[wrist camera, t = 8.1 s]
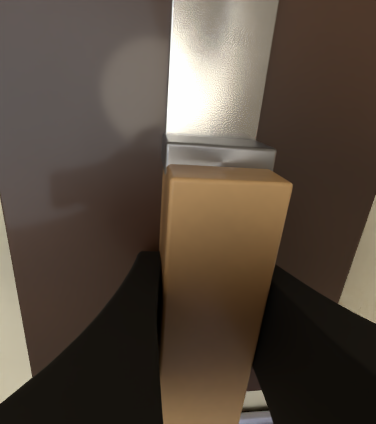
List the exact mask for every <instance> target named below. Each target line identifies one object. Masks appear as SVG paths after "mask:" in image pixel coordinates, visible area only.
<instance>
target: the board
mask: <svg viewBox="0 0 376 424" xmlns="http://www.w3.org/2000/svg"><path fill="white" fill-rule="evenodd" d="M170 7H171V0H0V198H1V204H2V209H3V215H4V221H5V226H6V232H7V237H8V243H9V249H10V254H11V260H12V265H13V271H14V277H15V282H16V288H17V293H18V299H19V305H20V310H21V316H22V321H23V327H24V333H25V338H26V344H27V349H28V355H29V361H30V366H31V372H32V377H34V376H35V375H36V374H37V373H39V372H40V371H41V370H42V369H43V368H45V367H46V366H47V365H48V364H49V363H50V362H51V361H52V360H54V359H55V358H56V357H57V356H58V355H59V354H60V353H61V352H62V351H63V350H64V349H65V348H66V347H67V346H68V345H69V344H70V343H71V342H73V341H74V340H75V339H76V338H77V337H78V336H79V335H80V334H81V333H82V332H83V330H84V329H85V328H86V327H87V326H88V325H89V324H90V323H91V322H92V321H93V320H94V318H95V317H96V316H97V315H98V314H99V313H100V312H101V310H102V309H103V308H104V307H105V305H106V304H107V303H108V301H109V300H110V299H111V298H112V296H113V295H114V294H115V292H116V291H117V290H118V288H119V287H120V285H121V284H122V282H123V281H124V279H125V277H126V276H127V274H128V273H129V271H130V269H131V268H132V266H133V264H134V262H135V260H136V257H137V254H138V253H140V252H141V251H159V240H160V219H161V198H162V177H163V163H162V139H163V134H164V133H165V112H166V91H167V70H168V49H169V28H170ZM256 141H258V142H261V143H263V144H265V145H268V146H270V147H272V148H275V149H276V151H277V153H276V158H275V163H274V168H273V172H275V173H276V174H278V175H279V176H281V177H283V178H284V179H286V180H287V181H289V182H291V183H292V185H293V188H292V193H291V197H290V201H289V206H288V210H287V215H286V219H285V223H284V228H283V232H282V237H281V241H280V245H279V250H278V254H277V258H276V263H275V264H276V265H278V266H279V267H281V268H282V269H283V270H285V271H286V272H288V273H289V274H291V275H292V276H294V277H295V278H297V279H298V280H300V281H302V282H303V283H305V284H306V285H308V286H309V287H311V288H312V289H314V290H316V291H317V292H319V293H320V294H322V295H324V296H325V297H327V298H329V299H331V300H332V301H334V302H336V303H337V304H338V302H339V299H340V296H341V293H342V291H343V288H344V285H345V282H346V279H347V276H348V273H349V270H350V267H351V265H352V262H353V259H354V256H355V253H356V250H357V247H358V244H359V241H360V238H361V236H362V233H363V230H364V227H365V224H366V221H367V218H368V215H369V212H370V210H371V207H372V204H373V201H374V198H375V195H376V0H279V4H278V10H277V16H276V22H275V28H274V34H273V40H272V46H271V52H270V58H269V64H268V70H267V76H266V82H265V88H264V94H263V100H262V106H261V112H260V118H259V124H258V130H257V136H256ZM258 390H262V389H261V387H260V384H259V382H258V379H257V377H256V374H255V372H254V369H253V367H252V368H251V372H250V377H249V381H248V386H247V390H246V391H258Z"/></svg>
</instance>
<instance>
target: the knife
mask: <svg viewBox="0 0 376 424" xmlns="http://www.w3.org/2000/svg"><path fill="white" fill-rule="evenodd" d="M278 4H279V0H171V7H170V28H169V49H168V70H167V91H166V112H165V133H164V134H163V139H162V163H163V177H162V198H161V219H160V240H159V251H160V257H161V275H160V295H159V314H158V334H157V337H158V355H159V371H160V385H161V400H162V413H163V424H239V421H240V416H241V412H242V408H243V403H244V399H245V394H246V390H247V386H248V381H249V377H250V372H251V368H252V364H253V359H254V355H255V351H256V346H257V342H258V337H259V333H260V329H261V324H262V320H263V315H264V311H265V307H266V302H267V298H268V294H269V289H270V285H271V280H272V276H273V272H274V267H275V263H276V258H277V254H278V250H279V245H280V241H281V237H282V232H283V228H284V223H285V219H286V215H287V210H288V206H289V201H290V197H291V193H292V188H293V185H292V183H291V182H289V181H287V180H286V179H284V178H283V177H281V176H279V175H278V174H276V173H275V172H273V168H274V163H275V158H276V153H277V151H276V149H275V148H272V147H270V146H268V145H265V144H263V143H261V142H258V141H256V136H257V130H258V124H259V118H260V112H261V106H262V100H263V94H264V88H265V82H266V76H267V70H268V64H269V58H270V52H271V46H272V40H273V34H274V28H275V22H276V16H277V10H278Z"/></svg>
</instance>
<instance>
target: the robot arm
mask: <svg viewBox="0 0 376 424" xmlns="http://www.w3.org/2000/svg"><path fill="white" fill-rule="evenodd" d="M160 275H161V257H160V251H141V252H140V253H138V254H137V257H136V260H135V262H134V264H133V266H132V268H131V269H130V271H129V273H128V274H127V276H126V277H125V279H124V281H123V282H122V284H121V285H120V287H119V288H118V290H117V291H116V292H115V294H114V295H113V296H112V298H111V299H110V300H109V301H108V303H107V304H106V305H105V307H104V308H103V309H102V310H101V312H100V313H99V314H98V315H97V316H96V317H95V318H94V320H93V321H92V322H91V323H90V324H89V325H88V326H87V327H86V328H85V329H84V330H83V332H82V333H81V334H80V335H79V336H78V337H77V338H76V339H75V340H74V341H73V342H71V343H70V344H69V345H68V346H67V347H66V348H65V349H64V350H63V351H62V352H61V353H60V354H59V355H58V356H57V357H56V358H55V359H54V360H52V361H51V362H50V363H49V364H48V365H47V366H46V367H45V368H43V369H42V370H41V371H40V372H39V373H37V374H36V375H35V376H34V377H33V378H31V379H30V380H29V381H28V382H26V383H25V384H24V385H23V386H22V387H20V388H19V389H18V390H17V391H15V392H14V393H13V394H12V395H11V396H9V397H8V398H7V399H6V400H5V401H3V402H2V403H1V404H0V424H163V413H162V400H161V385H160V371H159V355H158V337H157V334H158V314H159V295H160ZM252 367H253V369H254V372H255V374H256V377H257V379H258V382H259V384H260V387H261V389H262V392H263V394H264V397H265V400H266V403H267V406H268V409H269V411H257V412H244V413H241V416H240V421H239V424H376V324H375V323H373V322H371V321H369V320H367V319H365V318H363V317H361V316H359V315H357V314H355V313H353V312H352V311H350V310H348V309H346V308H344V307H342V306H341V305H339V304H337V303H336V302H334V301H332V300H331V299H329V298H327V297H325V296H324V295H322V294H320V293H319V292H317V291H316V290H314V289H312V288H311V287H309V286H308V285H306V284H305V283H303V282H302V281H300V280H298V279H297V278H295V277H294V276H292V275H291V274H289V273H288V272H286V271H285V270H283V269H282V268H281V267H279V266H278V265H276V264H275V267H274V272H273V276H272V280H271V285H270V289H269V294H268V298H267V302H266V307H265V311H264V315H263V320H262V324H261V329H260V333H259V337H258V342H257V346H256V351H255V355H254V359H253V364H252Z"/></svg>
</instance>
